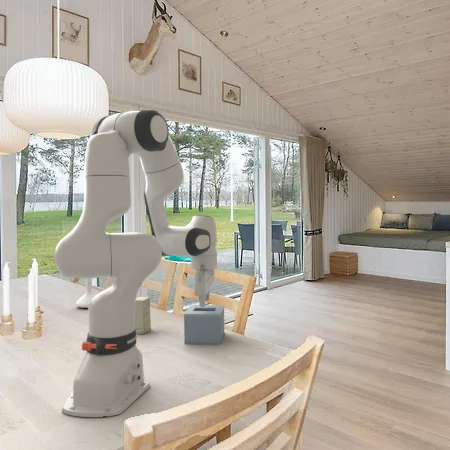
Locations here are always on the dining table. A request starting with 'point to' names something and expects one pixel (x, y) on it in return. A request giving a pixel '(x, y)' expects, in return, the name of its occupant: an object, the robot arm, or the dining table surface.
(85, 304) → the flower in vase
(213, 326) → the coin box
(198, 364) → the dining table surface
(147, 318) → the skincare box
